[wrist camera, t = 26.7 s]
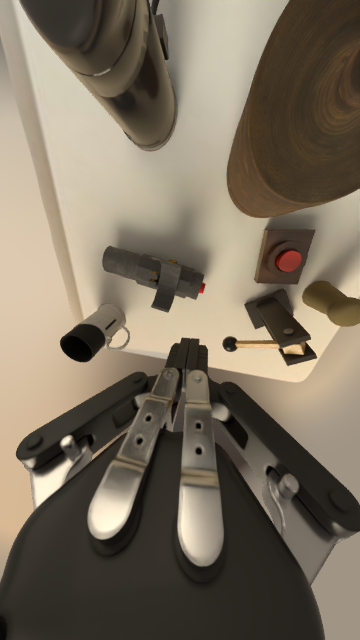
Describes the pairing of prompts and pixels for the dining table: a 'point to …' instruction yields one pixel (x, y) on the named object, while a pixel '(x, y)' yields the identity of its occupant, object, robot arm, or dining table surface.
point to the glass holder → (94, 333)
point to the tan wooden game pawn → (332, 303)
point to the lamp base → (274, 246)
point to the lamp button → (288, 260)
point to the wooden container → (301, 113)
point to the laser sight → (155, 275)
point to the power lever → (261, 345)
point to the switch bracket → (280, 324)
